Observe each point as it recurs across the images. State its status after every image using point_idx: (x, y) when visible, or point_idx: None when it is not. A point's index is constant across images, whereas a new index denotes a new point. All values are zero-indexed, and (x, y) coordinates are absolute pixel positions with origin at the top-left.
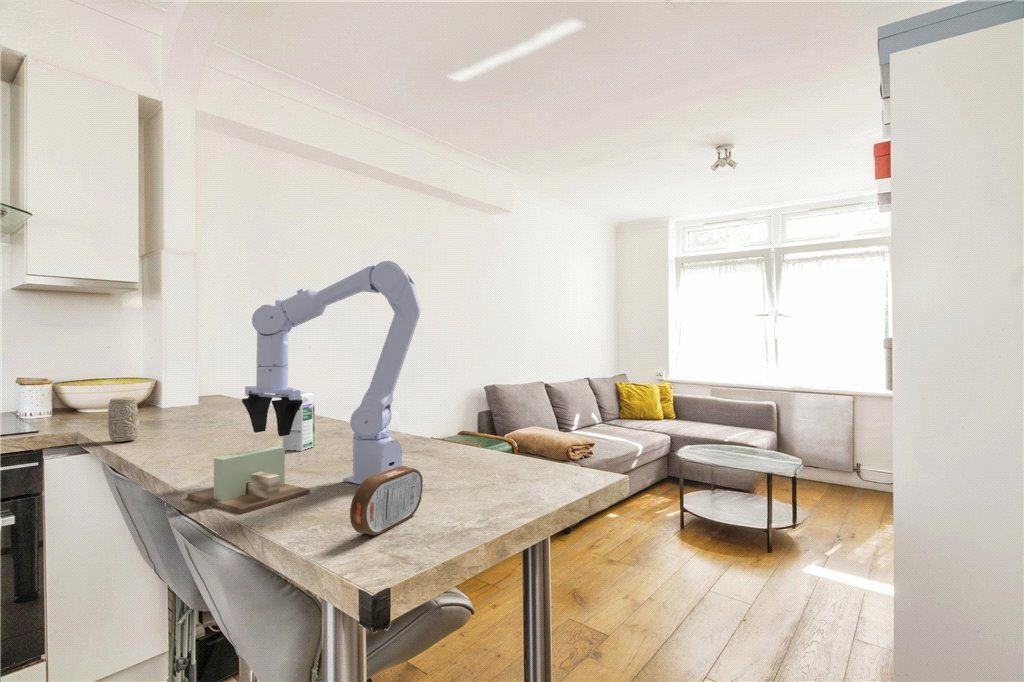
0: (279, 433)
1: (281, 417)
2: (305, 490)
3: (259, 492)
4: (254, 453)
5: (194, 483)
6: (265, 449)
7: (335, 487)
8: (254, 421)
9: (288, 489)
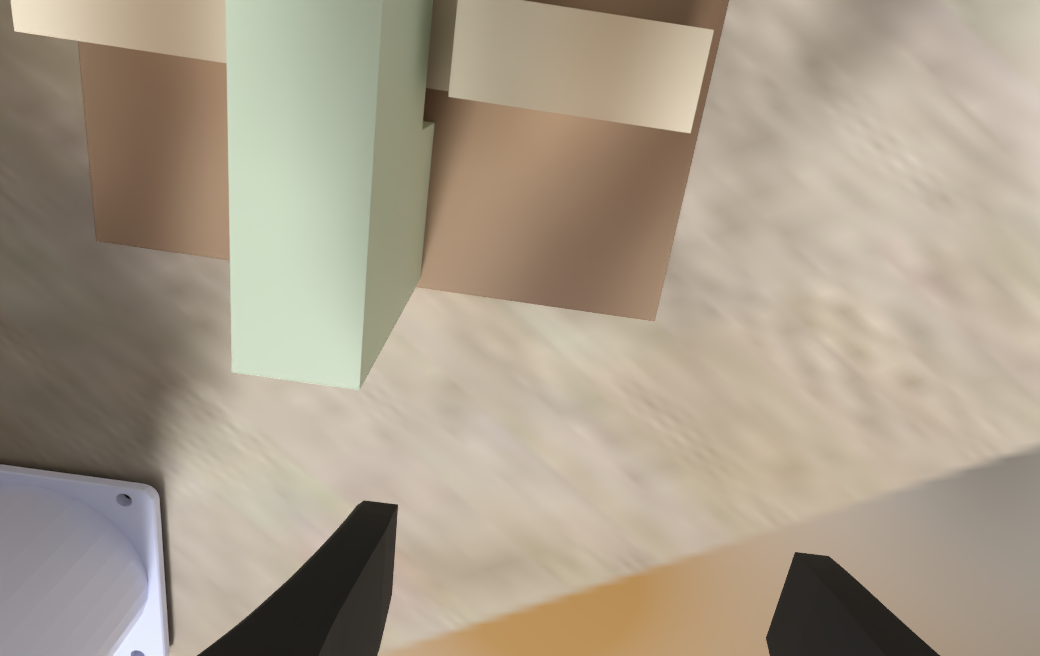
0: (363, 511)
1: (211, 646)
2: (95, 211)
3: None
4: (226, 14)
5: (1028, 107)
6: (305, 220)
7: (98, 387)
8: (863, 643)
9: (203, 181)
